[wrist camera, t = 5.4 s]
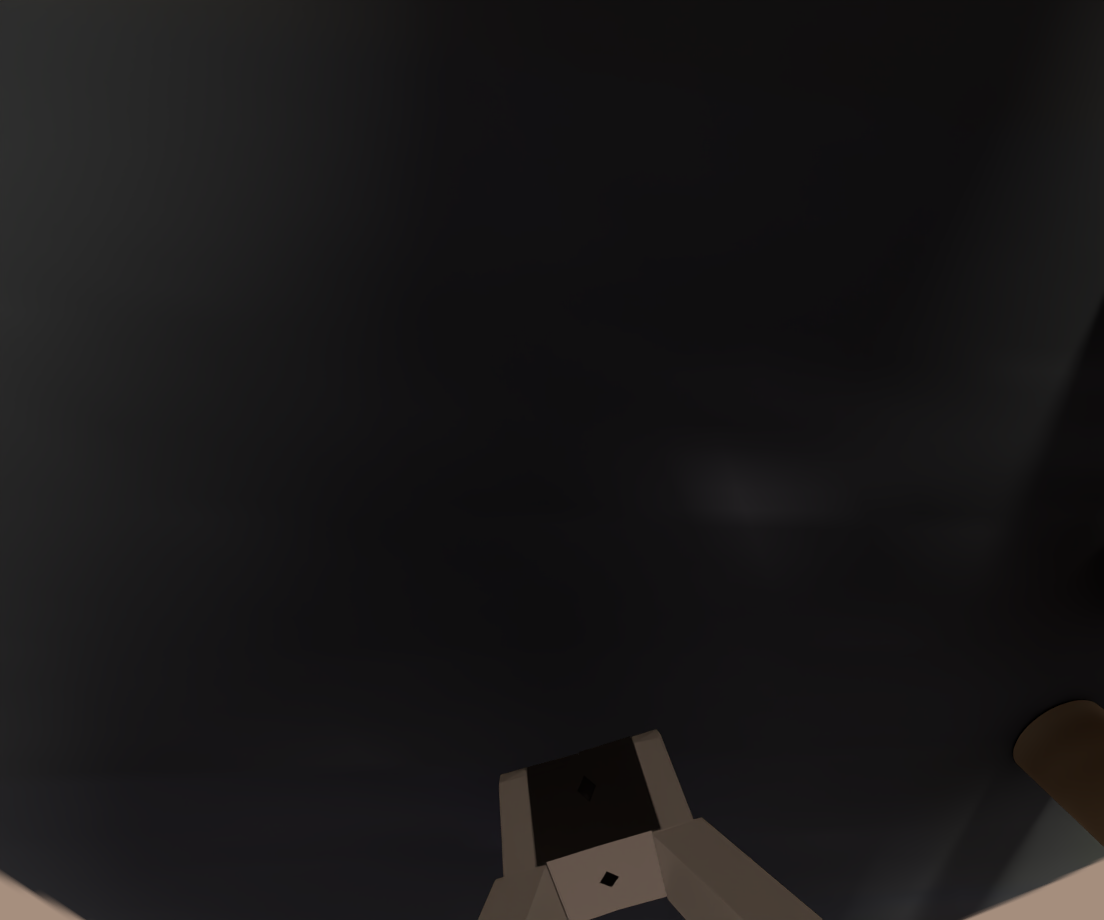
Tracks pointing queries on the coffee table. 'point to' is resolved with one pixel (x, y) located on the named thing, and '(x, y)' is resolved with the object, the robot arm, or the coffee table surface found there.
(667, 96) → the coffee table surface
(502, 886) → the robot arm
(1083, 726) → the post
